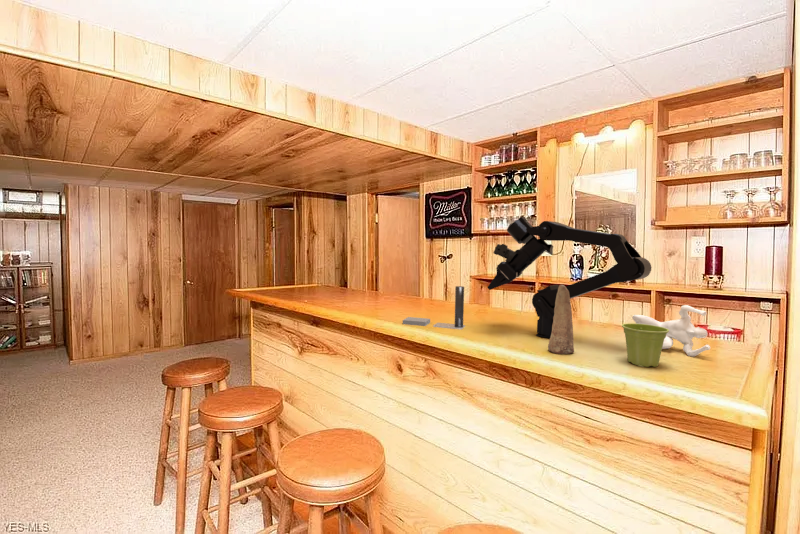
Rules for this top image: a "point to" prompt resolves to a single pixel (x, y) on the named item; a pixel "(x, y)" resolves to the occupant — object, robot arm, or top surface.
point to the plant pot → (644, 343)
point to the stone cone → (562, 324)
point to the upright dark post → (456, 311)
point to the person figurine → (679, 330)
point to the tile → (416, 321)
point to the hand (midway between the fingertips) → (491, 287)
